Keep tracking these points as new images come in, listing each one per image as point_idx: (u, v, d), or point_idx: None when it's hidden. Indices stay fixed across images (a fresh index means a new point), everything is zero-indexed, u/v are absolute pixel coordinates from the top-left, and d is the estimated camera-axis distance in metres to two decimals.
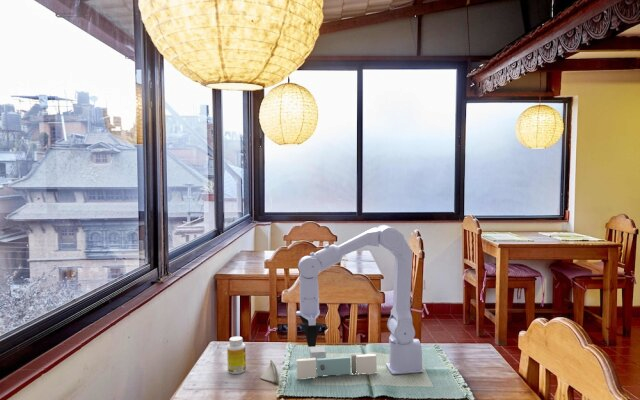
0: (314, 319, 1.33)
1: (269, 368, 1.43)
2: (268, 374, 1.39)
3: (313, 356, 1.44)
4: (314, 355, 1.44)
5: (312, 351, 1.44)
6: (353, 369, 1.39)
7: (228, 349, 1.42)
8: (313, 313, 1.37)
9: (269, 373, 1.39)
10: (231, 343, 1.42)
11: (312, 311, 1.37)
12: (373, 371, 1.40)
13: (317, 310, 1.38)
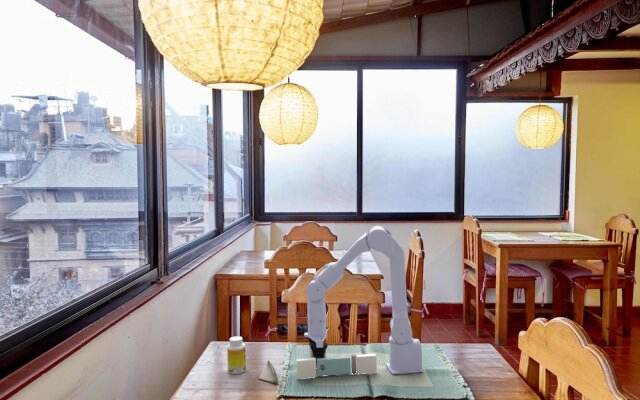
0: (322, 341, 1.39)
1: (267, 368, 1.43)
2: (266, 374, 1.39)
3: None
4: None
5: None
6: (353, 369, 1.39)
7: (228, 349, 1.42)
8: (320, 335, 1.43)
9: (267, 373, 1.39)
10: (231, 343, 1.42)
11: (320, 333, 1.43)
12: (373, 371, 1.40)
13: (324, 332, 1.44)
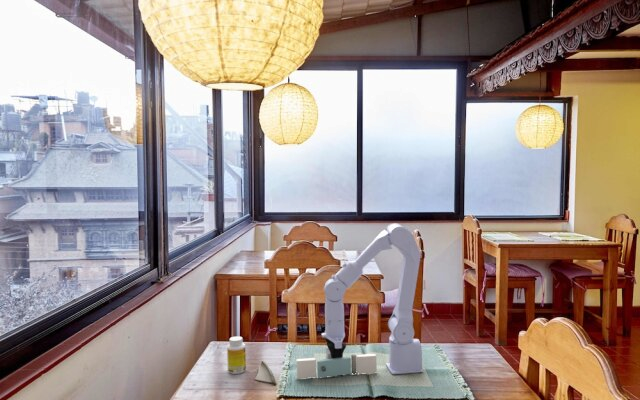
0: (340, 342, 1.35)
1: (262, 369, 1.42)
2: (263, 375, 1.38)
3: (330, 358, 1.40)
4: None
5: (329, 353, 1.41)
6: (353, 369, 1.39)
7: (228, 349, 1.42)
8: (339, 335, 1.39)
9: (264, 374, 1.39)
10: (231, 343, 1.42)
11: (338, 334, 1.39)
12: (373, 371, 1.40)
13: (342, 332, 1.41)
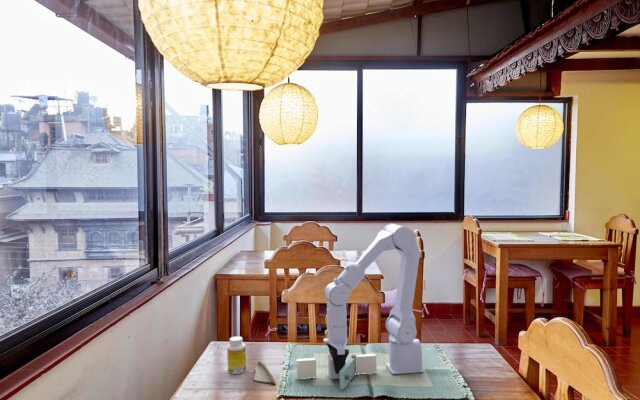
0: (343, 348, 1.30)
1: (259, 369, 1.42)
2: (261, 375, 1.38)
3: (332, 364, 1.35)
4: (333, 363, 1.35)
5: (331, 359, 1.36)
6: None
7: (228, 349, 1.42)
8: (341, 341, 1.35)
9: (262, 374, 1.39)
10: (231, 343, 1.42)
11: (341, 339, 1.35)
12: (373, 371, 1.40)
13: (345, 338, 1.36)
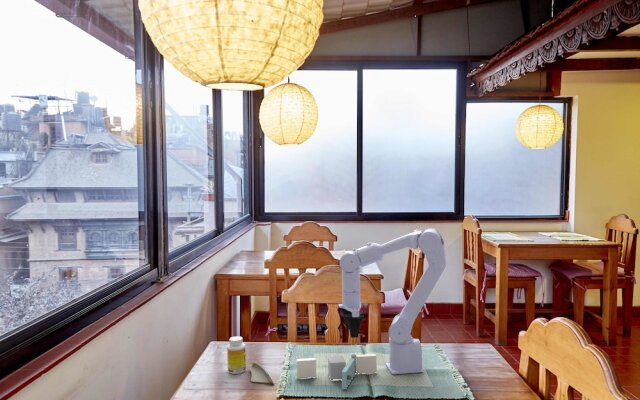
0: (358, 311, 1.39)
1: (255, 370, 1.41)
2: (258, 376, 1.38)
3: (332, 367, 1.35)
4: (333, 366, 1.35)
5: (331, 362, 1.36)
6: None
7: (228, 349, 1.42)
8: (355, 306, 1.44)
9: (259, 375, 1.38)
10: (231, 343, 1.42)
11: (355, 304, 1.44)
12: (373, 371, 1.40)
13: (359, 303, 1.45)
